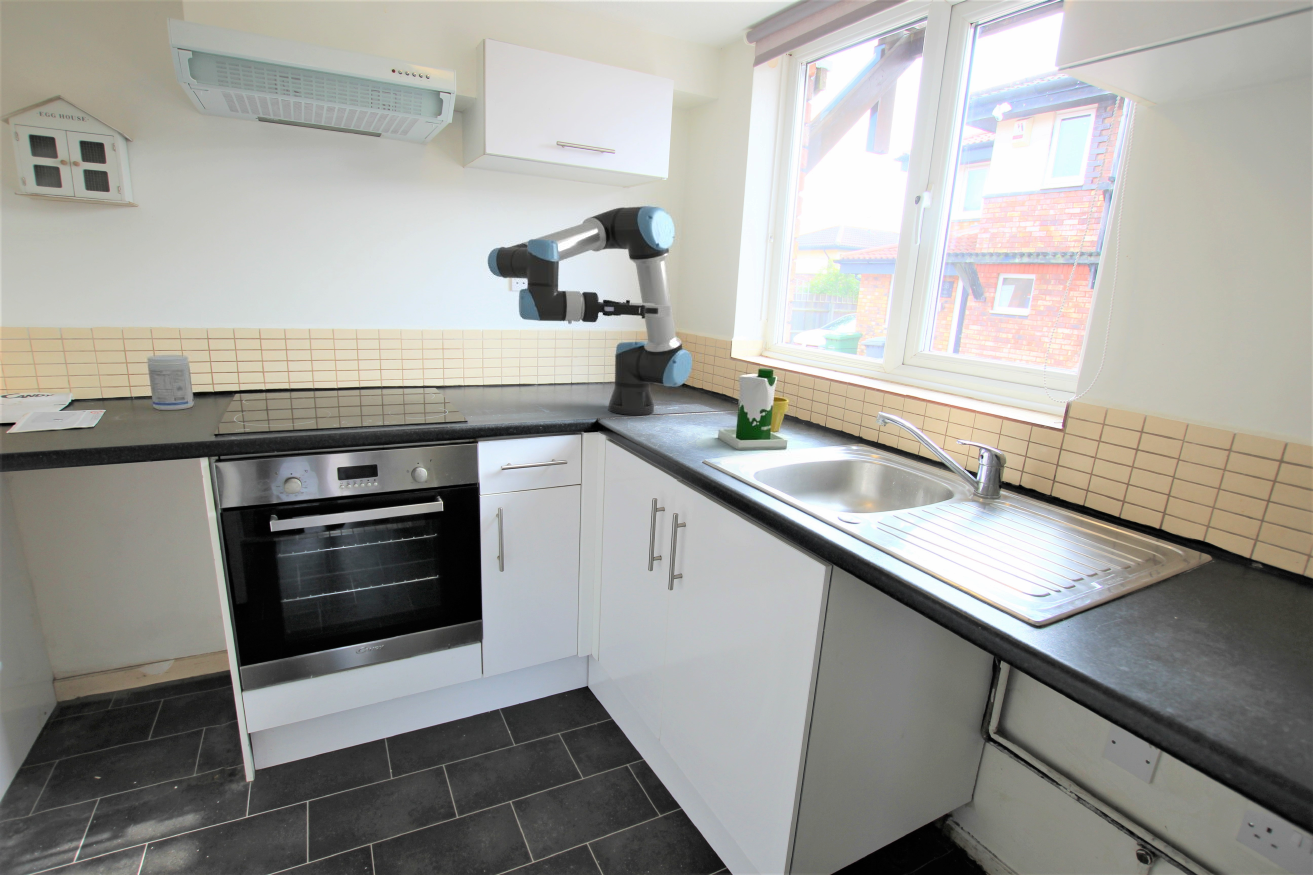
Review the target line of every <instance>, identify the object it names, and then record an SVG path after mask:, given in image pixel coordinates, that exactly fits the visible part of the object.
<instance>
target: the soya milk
mask: <svg viewBox="0 0 1313 875" xmlns="http://www.w3.org/2000/svg"><path fill="white" fill-rule="evenodd" d="M738 379H739V380H738V382H739V383H738V384H739V393H738V394H739V395H738V408H737V418H736V428H735V429H736V438H737V439H738V440H740V441H741V440H770V434H771V421H772V411H773V400H774V396H775V390H776V386H777V382H778V376H774V369H772V368H758V370H757V373H750V374H749V373H748V374H743V375H739V376H738Z"/></svg>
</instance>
